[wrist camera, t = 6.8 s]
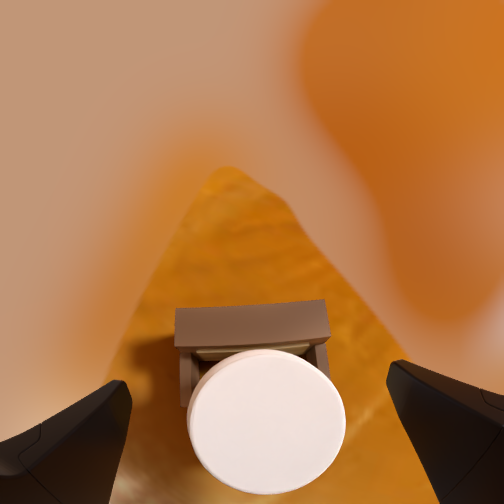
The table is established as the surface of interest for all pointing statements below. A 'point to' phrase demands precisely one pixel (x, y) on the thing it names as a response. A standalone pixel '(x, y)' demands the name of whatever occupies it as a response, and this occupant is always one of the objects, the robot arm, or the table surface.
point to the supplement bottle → (265, 422)
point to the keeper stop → (249, 335)
